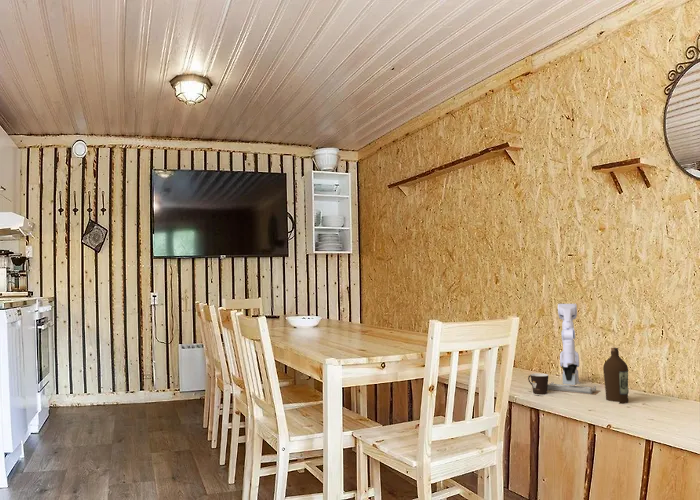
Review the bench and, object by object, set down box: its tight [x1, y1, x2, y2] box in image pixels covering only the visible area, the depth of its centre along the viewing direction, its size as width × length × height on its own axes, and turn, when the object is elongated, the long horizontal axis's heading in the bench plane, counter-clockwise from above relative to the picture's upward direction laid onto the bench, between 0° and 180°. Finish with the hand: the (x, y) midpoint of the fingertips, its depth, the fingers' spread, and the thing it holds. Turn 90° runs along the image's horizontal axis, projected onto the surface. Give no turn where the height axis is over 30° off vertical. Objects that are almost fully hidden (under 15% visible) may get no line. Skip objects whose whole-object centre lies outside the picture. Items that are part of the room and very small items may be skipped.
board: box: [549, 390, 601, 396], centre depth 288 cm, size 11×26×1 cm, turn 53°
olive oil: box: [602, 347, 630, 404], centre depth 265 cm, size 11×11×25 cm
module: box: [562, 373, 577, 386], centre depth 287 cm, size 4×6×6 cm, turn 53°
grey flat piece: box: [547, 381, 597, 395], centre depth 288 cm, size 9×22×2 cm, turn 53°
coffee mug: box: [527, 372, 549, 397], centre depth 284 cm, size 12×9×10 cm
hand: (570, 379), depth 287 cm, fingers closed on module, 4 cm apart
